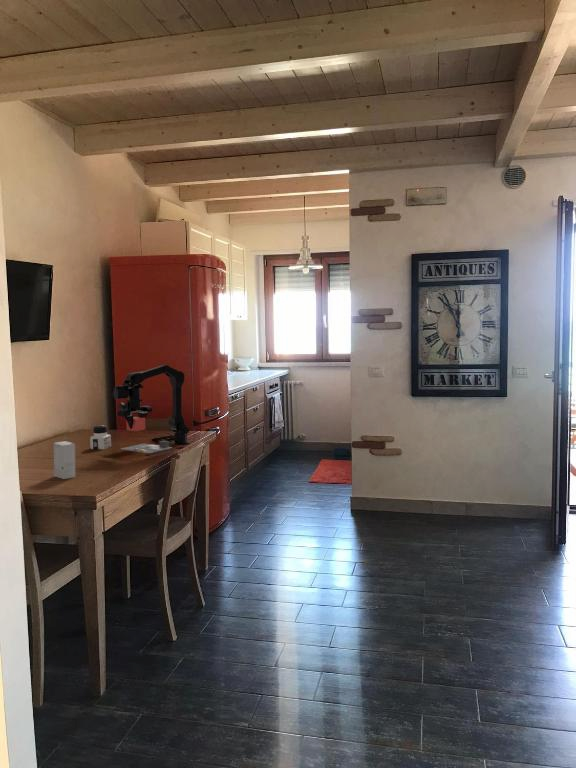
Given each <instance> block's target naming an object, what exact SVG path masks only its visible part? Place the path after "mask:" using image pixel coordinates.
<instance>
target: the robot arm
mask: <svg viewBox="0 0 576 768" xmlns="http://www.w3.org/2000/svg"><path fill="white" fill-rule="evenodd" d="M162 374H164V375H165V376H167V377H168V378H169V384H170V385H171V389H172V390H171V391H172V392H171V393H172V414H171V416H168V425H169V428H170V429H171V430H172V432H173V433H174V436H173V437H174V439H173V440H174V441H173V443H172V445H179V446H184V445H187V444H190V441H188V434H189V431H190V428H188V426H186V422H185V419H184V416H183V414H182V408H183V407H182V403H183V402H182V401H183V400H182V389H183V385H184V383H185V377H186V375H185V373H184V372H183V371H181V370H178V369H174V368H173V367H171V366H169V365H168V364H161V365H159V366H156V367H153V368H150V369H146V370H143V371H135V372H129V373H126V377H125V380H124V382H123V383H122V385H115V386H114V388H113V392H112V394H113V395H112V396H113V399H114V400H123V399H124V400H126V402H125V403H124V402H118V408H119V410H117V417H123V418H124V419H125V421H126V420H127V422H128V425H129V427H130V429H132V426H133V417H134V415H133V414H135V413H136V414H137V415H138V417H143V418H145V419H146V418H147V417H148V415H149V414H150V413H152V412H154V411H153V407H152V405H142V406H141V404H142V403H141V402H142V401H143V399H142V398H141V389H144V388H145V387H144V385H142V384H141V383H143V382H144V381H146V380H147V379H150V378H153V377H155V376H159V375H162Z"/></svg>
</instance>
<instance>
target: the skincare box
mask: <svg viewBox="0 0 576 768" xmlns="http://www.w3.org/2000/svg"><path fill="white" fill-rule="evenodd" d="M53 477H55V478H59V479H62V480H66V479H67V480H68V479H71V478H75V477H76V444H75V443H73V442H70V441H65V440H63V441H56V442H53Z"/></svg>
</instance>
